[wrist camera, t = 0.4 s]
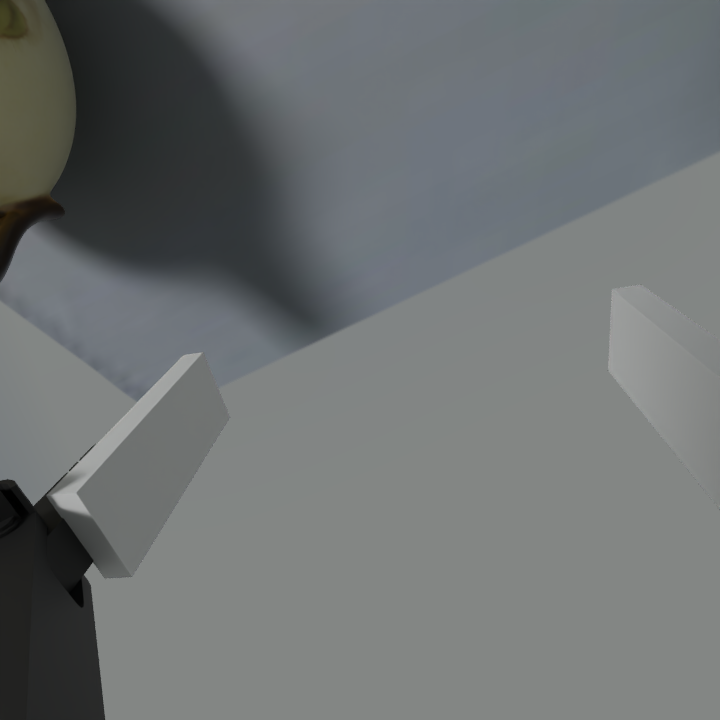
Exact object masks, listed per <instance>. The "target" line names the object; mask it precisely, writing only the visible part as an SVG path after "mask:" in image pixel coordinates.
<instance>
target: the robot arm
mask: <svg viewBox="0 0 720 720" xmlns="http://www.w3.org/2000/svg"><path fill="white" fill-rule="evenodd" d="M608 371H609V372H610V373H611V375H612V376H613V377H614V378H615V380H616V381H617V382H618V383H619V385H620V386H621V387H622V388H623V390H624V391H625V392H626V393H627V395H628V396H629V397H630V398H631V400H632V401H633V402H634V403H635V405H636V406H637V407H638V408H639V410H640V411H641V412H642V413H643V415H644V416H645V417H646V418H647V420H648V421H649V422H650V423H651V425H652V426H653V427H654V428H655V430H656V431H657V432H658V433H659V435H660V436H661V437H662V438H663V440H664V441H665V442H666V443H667V445H668V446H669V447H670V448H671V449H672V451H673V452H674V453H675V455H676V456H677V457H678V458H679V460H680V461H681V462H682V463H683V465H684V466H685V467H686V468H687V470H688V471H689V472H690V473H691V475H692V476H693V477H694V478H695V480H696V481H697V482H698V483H699V485H700V486H701V487H702V488H703V490H704V491H705V492H706V493H707V495H708V496H709V497H710V498H711V500H712V501H713V502H714V503H715V505H716V506H717V507H718V508H719V510H720V340H719V339H718V338H716V337H715V336H714V335H712V334H711V333H709V332H708V331H706V330H705V329H704V328H702V327H701V326H699V325H698V324H696V323H695V322H693V321H692V320H691V319H689V318H688V317H686V316H685V315H683V314H682V313H680V312H679V311H678V310H676V309H675V308H674V307H672V306H670V305H669V304H668V303H666V302H665V301H664V300H662V299H661V298H659V297H658V296H656V295H655V294H654V293H652V292H651V291H649V290H648V289H646V288H645V287H644V286H642V285H635V286H628V287H622V288H615V289H612V304H611V324H610V345H609V365H608ZM229 418H230V416H229V413H228V411H227V408H226V406H225V403H224V401H223V399H222V396H221V394H220V391H219V389H218V387H217V384H216V382H215V379H214V377H213V374H212V372H211V370H210V367H209V365H208V362H207V360H206V358H205V355H204V353H203V352H201V353H195V354H188V355H183V356H182V357H181V358H180V359H179V360H178V361H177V362H176V363H175V364H174V365H173V366H172V367H171V368H170V369H169V370H168V371H167V372H166V374H165V375H164V376H163V377H162V378H161V379H160V380H159V381H158V382H157V383H156V384H155V385H154V386H153V387H152V388H151V389H150V390H149V391H148V392H147V393H146V394H145V395H144V396H143V397H142V398H141V399H140V400H139V401H138V402H137V403H136V404H135V405H134V406H133V407H132V408H131V409H130V410H129V411H128V412H127V413H126V414H125V415H124V417H123V418H122V419H121V420H120V421H119V422H118V423H117V424H116V425H115V426H114V427H113V428H112V429H111V430H110V431H109V432H108V433H107V434H106V435H105V436H104V437H103V438H102V439H101V440H100V441H99V442H98V443H97V444H95V445H94V446H92V447H91V448H90V449H89V450H88V451H87V453H85V455H84V456H83V457H82V458H81V459H80V462H77V463H76V464H75V465H74V466H73V467H72V468H71V469H70V470H69V473H66V474H65V475H64V476H63V477H62V478H61V479H60V480H59V481H58V482H57V483H56V484H55V485H54V486H53V487H52V488H51V489H50V490H49V491H48V492H47V493H46V494H45V495H44V496H43V497H42V498H41V499H40V500H39V501H38V502H37V503H36V504H35V505H34V506H33V505H32V504H31V503H30V501H29V500H28V499H27V497H26V496H25V495H24V493H23V492H22V490H21V489H20V488H19V487H18V485H17V484H16V482H15V481H13V480H8V479H7V480H2V481H0V720H105V714H104V705H103V695H102V687H101V677H100V668H99V658H98V649H97V640H96V630H95V621H94V612H93V602H92V593H91V585H90V583H89V581H88V580H87V578H86V577H85V576H84V573H85V572H86V571H87V569H88V568H89V567H90V565H91V564H92V563H94V564H95V565H96V567H97V568H98V570H99V571H100V573H101V574H102V575H103V577H104V578H122V577H132V576H133V575H134V573H135V571H136V570H137V568H138V567H139V565H140V563H141V562H142V560H143V558H144V557H145V555H146V554H147V552H148V550H149V549H150V547H151V545H152V544H153V542H154V540H155V539H156V537H157V536H158V534H159V532H160V531H161V529H162V527H163V526H164V524H165V522H166V521H167V519H168V518H169V516H170V514H171V513H172V511H173V509H174V508H175V506H176V505H177V503H178V501H179V500H180V498H181V496H182V495H183V493H184V491H185V490H186V488H187V487H188V485H189V483H190V482H191V480H192V478H193V477H194V475H195V474H196V472H197V470H198V469H199V467H200V465H201V464H202V462H203V460H204V459H205V457H206V456H207V454H208V452H209V451H210V449H211V447H212V446H213V444H214V443H215V441H216V439H217V438H218V436H219V434H220V433H221V431H222V430H223V428H224V426H225V425H226V423H227V421H228V420H229Z"/></svg>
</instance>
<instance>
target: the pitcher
mask: <svg viewBox="0 0 720 720" xmlns="http://www.w3.org/2000/svg"><path fill="white" fill-rule="evenodd" d="M75 125H76V94H75V86H74V79H73V74H72V69H71V65H70V61H69V58H68V54H67V51H66V47H65V45H64V42H63V39H62V36H61V34H60V31H59V29H58V27H57V24H56V22H55V20H54V18H53V16H52V13H51V11H50V9H49V7H48V6H47V4H46V2H45V0H0V282H1V281H2V279H3V278H4V276H5V274H6V272H7V270H8V268H9V266H10V263H11V261H12V258H13V255H14V253H15V250H16V248H17V245H18V243H19V241H20V239H21V238H22V236H23V234H24V233H25V232H26V231H27V229H29V228H30V227H31V226H32V225H34V224H35V223H37V222H40V221H45V220H56V219H59V218H61V217H62V216H64V214H65V210H64V208H63V207H62V206H61V205H60V204H59V203H58V202H56V201H54V200H53V199H52V198H51V196H50V192H51V190H52V189H53V188H54V186H55V184H56V183H57V181H58V180H59V178H60V176H61V174H62V172H63V170H64V168H65V165H66V163H67V160H68V157H69V154H70V151H71V147H72V144H73V139H74V133H75Z"/></svg>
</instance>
